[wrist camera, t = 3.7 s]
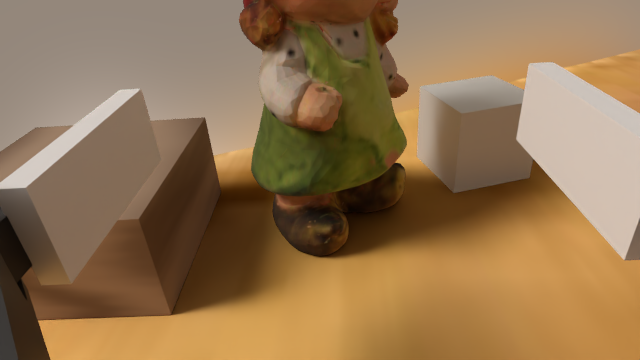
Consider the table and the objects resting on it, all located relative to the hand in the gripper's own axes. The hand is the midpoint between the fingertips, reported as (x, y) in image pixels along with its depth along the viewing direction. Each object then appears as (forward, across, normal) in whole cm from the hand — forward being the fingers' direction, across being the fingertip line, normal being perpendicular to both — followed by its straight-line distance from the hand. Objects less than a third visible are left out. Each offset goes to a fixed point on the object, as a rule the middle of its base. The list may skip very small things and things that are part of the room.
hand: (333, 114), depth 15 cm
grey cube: (+16, +10, -11) cm, 22 cm away
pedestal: (+8, -15, -11) cm, 20 cm away
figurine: (+10, 0, -11) cm, 15 cm away
